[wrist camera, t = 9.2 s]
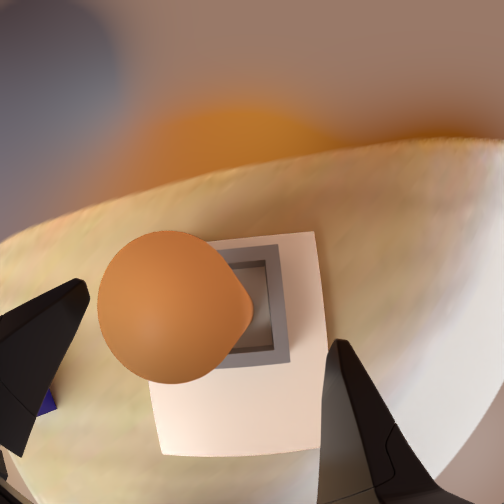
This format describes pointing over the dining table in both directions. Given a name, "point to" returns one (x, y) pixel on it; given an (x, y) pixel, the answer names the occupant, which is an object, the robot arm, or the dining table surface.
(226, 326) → the toggle bar
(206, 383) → the keeper plate
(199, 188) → the dining table surface
